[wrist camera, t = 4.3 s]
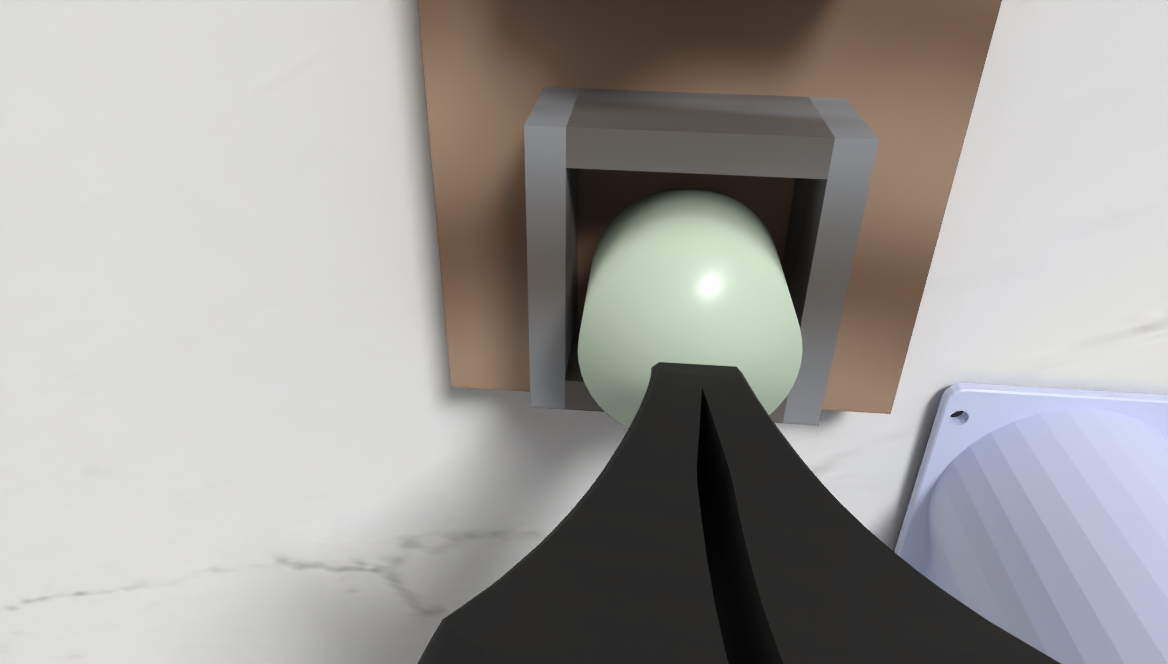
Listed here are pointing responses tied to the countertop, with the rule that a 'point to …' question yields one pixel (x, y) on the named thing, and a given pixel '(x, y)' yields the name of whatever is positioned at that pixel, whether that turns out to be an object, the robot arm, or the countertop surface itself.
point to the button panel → (695, 166)
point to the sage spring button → (686, 300)
